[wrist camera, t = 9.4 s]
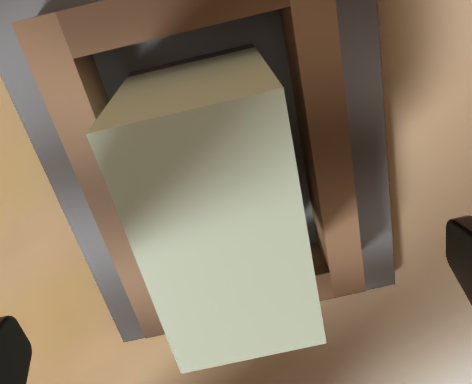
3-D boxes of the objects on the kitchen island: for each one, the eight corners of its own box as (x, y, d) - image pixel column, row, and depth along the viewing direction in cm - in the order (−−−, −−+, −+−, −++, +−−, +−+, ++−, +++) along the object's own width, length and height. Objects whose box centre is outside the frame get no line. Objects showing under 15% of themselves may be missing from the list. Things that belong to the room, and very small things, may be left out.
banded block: (252, 42, 14) (283, 87, 9) (287, 226, 17) (326, 343, 12) (130, 72, 14) (85, 133, 9) (188, 248, 17) (181, 373, 12)
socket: (390, 275, 19) (415, 316, 17) (126, 332, 20) (115, 380, 17) (360, -137, 12) (397, -162, 10) (-41, -36, 13) (-94, -37, 11)
